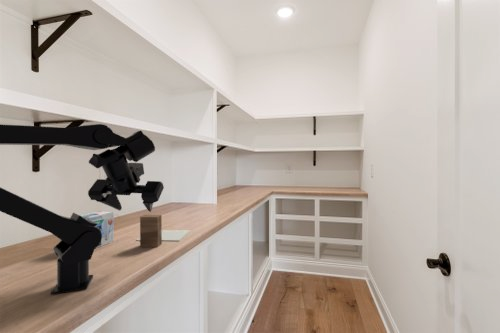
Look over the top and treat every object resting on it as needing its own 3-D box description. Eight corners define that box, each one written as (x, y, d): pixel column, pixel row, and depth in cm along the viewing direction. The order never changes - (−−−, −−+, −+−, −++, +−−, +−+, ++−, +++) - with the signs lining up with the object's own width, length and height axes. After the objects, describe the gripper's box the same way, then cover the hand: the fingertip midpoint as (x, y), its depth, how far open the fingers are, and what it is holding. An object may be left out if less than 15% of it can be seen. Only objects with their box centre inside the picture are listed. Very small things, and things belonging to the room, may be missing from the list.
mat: (179, 241, 88) (179, 240, 88) (135, 240, 88) (135, 239, 88) (191, 231, 102) (191, 230, 102) (153, 230, 102) (153, 230, 102)
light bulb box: (89, 251, 78) (89, 217, 78) (72, 249, 79) (71, 216, 79) (114, 241, 88) (114, 211, 88) (98, 240, 90) (98, 210, 90)
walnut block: (157, 247, 81) (157, 216, 81) (140, 246, 82) (140, 216, 82) (161, 244, 84) (161, 215, 84) (144, 244, 85) (144, 215, 85)
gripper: (163, 152, 69) (174, 191, 79) (98, 150, 69) (117, 189, 80) (149, 180, 60) (163, 219, 71) (75, 177, 61) (99, 216, 71)
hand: (135, 209), depth 73 cm, fingers open, 9 cm apart
